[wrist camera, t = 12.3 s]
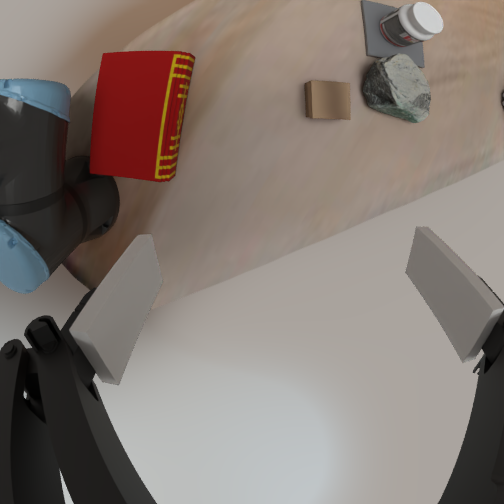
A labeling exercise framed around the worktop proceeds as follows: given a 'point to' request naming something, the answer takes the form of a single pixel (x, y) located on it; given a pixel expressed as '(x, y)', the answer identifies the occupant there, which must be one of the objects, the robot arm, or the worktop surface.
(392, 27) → the pill bottle
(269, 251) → the worktop surface
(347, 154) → the worktop surface
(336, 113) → the walnut block
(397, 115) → the stone
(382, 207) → the worktop surface
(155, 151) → the book
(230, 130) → the worktop surface
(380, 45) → the coaster
